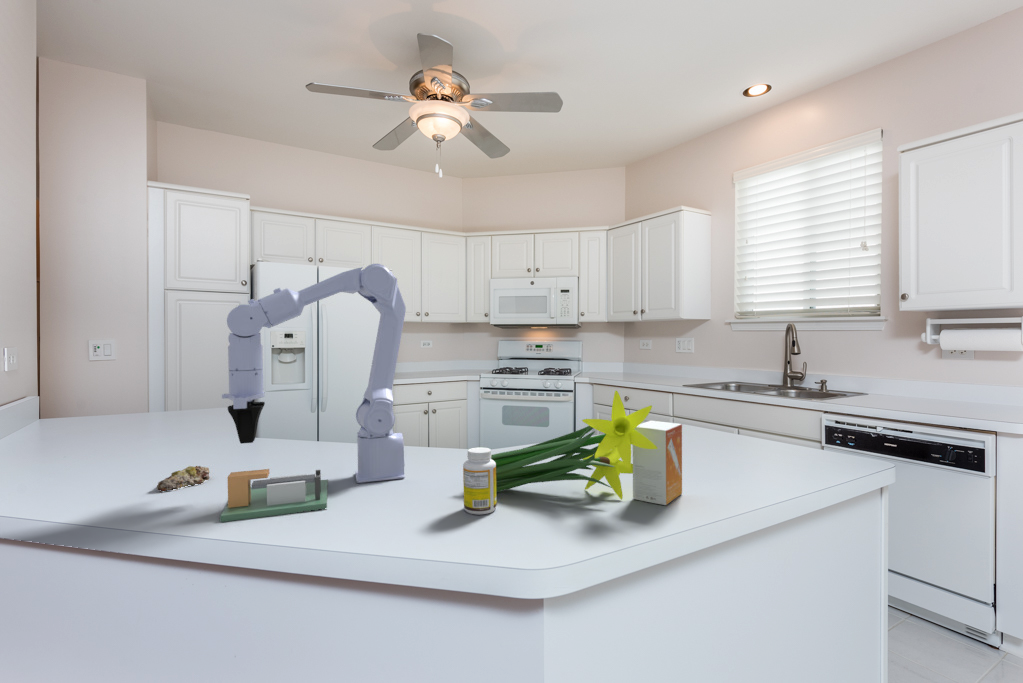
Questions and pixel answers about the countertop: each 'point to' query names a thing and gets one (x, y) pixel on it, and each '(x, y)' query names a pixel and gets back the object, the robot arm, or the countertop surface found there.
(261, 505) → the board
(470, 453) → the supplement bottle
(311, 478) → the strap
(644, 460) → the small box
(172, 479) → the mineral rock
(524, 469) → the daffodil flowers
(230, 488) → the orange l-shaped block
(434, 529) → the countertop surface
